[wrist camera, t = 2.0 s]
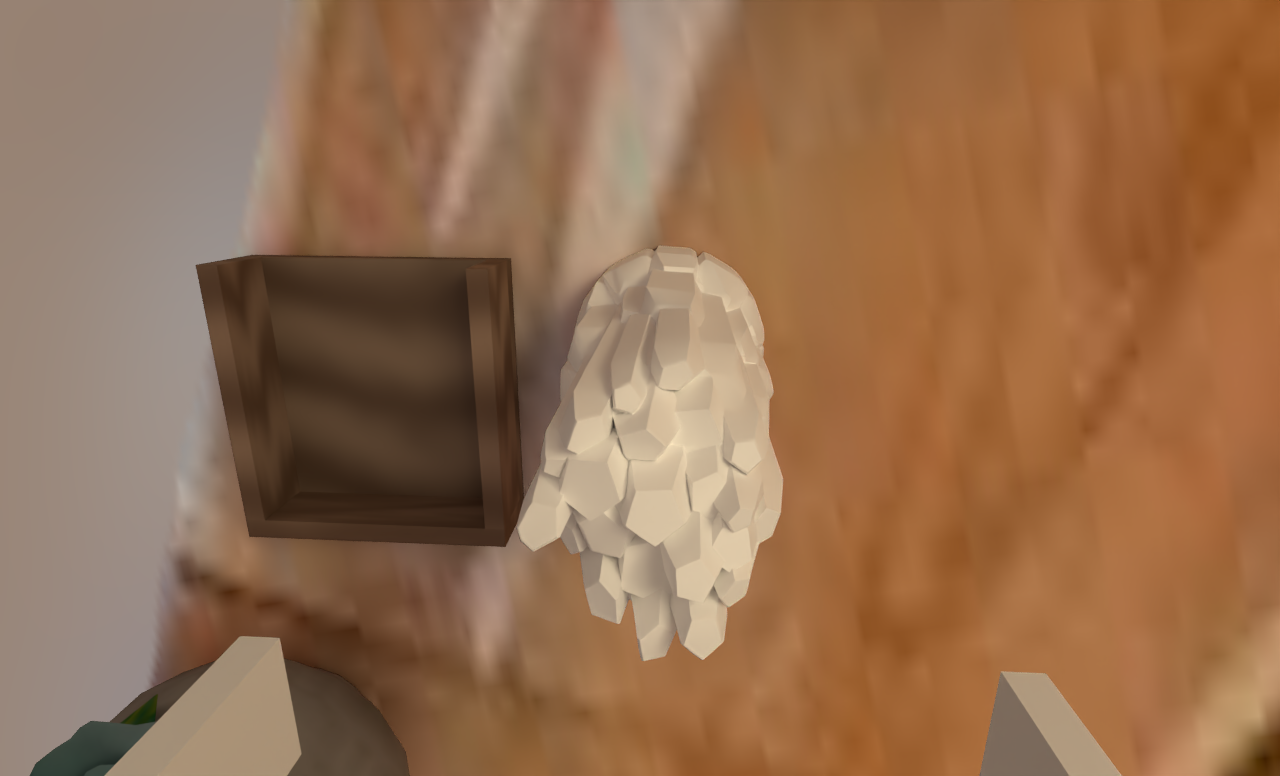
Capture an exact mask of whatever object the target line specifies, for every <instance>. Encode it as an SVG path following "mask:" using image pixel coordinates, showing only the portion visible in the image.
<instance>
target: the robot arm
mask: <svg viewBox="0 0 1280 776" xmlns="http://www.w3.org/2000/svg"><path fill="white" fill-rule="evenodd" d="M300 755H301V749H300V743H299V738H298V733H297V727H296V722H295V717H294V711H293V706H292V701H291V695H290V690H289V685H288V679H287V674H286V669H285V663H284V658H283V653H282V647H281V642H280V638H271V637H249V636H240V637H239V638H238V639H237V640H236V641H235V642H234V643H233V644H232V645H231V646H230V647H229V648H228V649H227V650H226V651H225V652H224V653H223V654H222V655H221V656H220V657H219V658H218V659H217V661H216V662H215V663H214V664H213V665H212V666H211V667H210V668H209V669H208V670H207V671H206V672H205V673H204V674H203V675H202V676H201V677H200V678H199V679H198V680H197V681H196V682H195V683H194V684H193V685H192V686H191V687H190V688H189V689H188V690H187V691H186V692H185V693H184V694H183V695H182V696H181V698H180V699H179V700H178V701H177V702H176V703H175V704H174V705H173V706H172V707H171V708H170V709H169V710H168V711H167V712H166V713H165V714H164V715H163V716H162V717H161V718H160V719H159V720H158V721H157V722H156V723H155V724H154V725H153V726H152V727H151V728H150V729H149V730H148V731H147V732H146V733H145V734H144V736H143V737H142V738H141V739H140V740H139V741H138V742H137V743H136V744H135V745H134V746H133V747H132V748H131V749H130V750H129V751H128V752H127V753H126V754H125V755H124V756H123V757H122V758H121V759H120V760H119V761H118V762H117V763H116V764H115V765H114V766H113V767H112V768H111V769H110V770H109V771H108V773H107V774H106V775H105V776H287V775H288V774H289V772H290V770H291V769H292V767H293V766H294V764H295V763H296V761H297V760H298V758H299V757H300ZM980 776H1122V775H1121V774H1120V773H1119V771H1118V770H1117V769H1116V767H1115V766H1114V765H1113V763H1112V762H1111V761H1110V759H1109V758H1108V756H1107V755H1106V754H1105V752H1104V751H1103V750H1102V748H1101V747H1100V746H1099V744H1098V743H1097V742H1096V740H1095V739H1094V738H1093V736H1092V735H1091V734H1090V732H1089V731H1088V730H1087V728H1086V727H1085V725H1084V724H1083V723H1082V721H1081V720H1080V719H1079V717H1078V716H1077V715H1076V713H1075V712H1074V711H1073V709H1072V708H1071V707H1070V705H1069V704H1068V703H1067V701H1066V700H1065V699H1064V697H1063V696H1062V694H1061V693H1060V692H1059V690H1058V689H1057V688H1056V686H1055V685H1054V684H1053V682H1052V681H1051V680H1050V678H1049V677H1048V676H1047V674H1044V673H1023V672H1001V674H1000V679H999V684H998V689H997V694H996V698H995V703H994V708H993V713H992V718H991V723H990V728H989V732H988V737H987V742H986V747H985V752H984V757H983V761H982V766H981V771H980Z"/></svg>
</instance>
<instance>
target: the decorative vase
mask: <svg viewBox="0 0 1280 776" xmlns="http://www.w3.org/2000/svg"><path fill="white" fill-rule="evenodd" d="M576 323H577V324H576V325H575V330H574V336H573V339H572V343H571V346H570V349H569V353H568V356H567V359H568V360H567V361H566V363H565V364H564V366H563V367H562V369H561V375H560V401H561V403H560V405H559V407H558V409H557V411H556V413H555V414H554V416H553V418H552V420H551V422H550V424H549V426H548V428H547V429H546V432H545V436H544V441H543V446H542V450H541V455H540V459H541V464H540V466H539V468H538V470H537V472H536V474H535V476H534V478H533V480H532V482H531V485H530V487H529V489H528V491H527V493H526V496H525V498H524V500H523V503H522V507H521V511H520V514H519V518H518V522H517V526H516V528H517V531H518V535H519V538H520V541H521V542H522V543H523V544H525V545H526V546H527V547H528V548H529V549H530V550H531V551H533V552H534V551H536V550H537V549H539V548H541V547H543V546H545V545H547V544H549V543H551V542H553V541H554V540H556V539H558V538H559V537H560V538H561V539H562V541H563V543H564V544H565V546H566V548H567V549H568V551H569V552H570V554H575V553H579V552H580V558H581V565H582V573H583V581H584V587H585V591H586V595H587V600H588V603H589V607H590V610H591V613H592V615H595V616H597V617H600V618H603V619H606V620H608V621H611V622H614V623H617V624H620V622H621V619H622V616H623V613H624V611H625V608H626V605H627V603H628V600H629V599H630V600H631V601H632V604H633V610H634V617H635V624H636V632H637V640H638V647H639V652H640V657H641V660H642V661H646V660H651V659H656V658H660V657H664V656H665V655H666V653H667V651H668V649H669V646H670V644H671V642H672V640H673V637H674V635H675V633H676V630H677V631H678V635H679V639H680V643H681V644H682V645H683V646H684V647H685V648H687V649H688V650H689V651H690V652H691V653H693V654H694V655H695V656H697V657H698V658H700V659H701V660H704V659H705V658H706V657H707V656H708V655H709V654H711V653H712V652H713V651H714V650H715V649H716V648H717V647H718V646H719V645H720V644H722V642H723V641H724V637H725V629H726V621H727V607H730V606H732V605H733V604H734V603H736V602H737V601H739V600H740V599H741V598H743V597H744V596H745V595H746V592H747V589H748V585H749V581H750V576H751V572H752V568H753V564H754V561H755V557H756V553H757V550H758V546H759V543H761V542H763V541H765V540H766V539H768V538H770V537H771V536H772V535H773V532H774V530H775V527H776V524H777V522H778V519H779V516H780V514H781V502H782V489H783V477H782V474H781V471H780V468H779V465H778V462H777V459H776V456H775V453H774V450H773V447H772V444H771V441H770V438H769V400H770V398H771V397H772V395H773V394H774V391H773V385H772V381H771V377H770V374H769V371H768V368H767V366H766V364H765V361H764V359H763V353H764V347H763V345H762V344H763V342H764V327H763V324H762V321H761V317H760V314H759V311H758V308H757V305H756V302H755V299H754V297H753V296H752V294H751V292H750V291H749V289H748V288H747V286H746V284H745V283H744V281H743V279H742V278H741V277H740V276H739V274H738V273H737V272H736V271H735V270H734V269H733V268H731V267H730V266H728V265H727V264H725V263H724V262H722V261H720V260H719V259H717V258H715V257H714V256H712V255H710V254H709V253H706V252H703V253H702V254H701V255H700V256H698V257H697V254H696V251H694V250H693V249H691V248H686V247H673V246H660V245H659V246H658V247H657V249H656V250H655V251H654V250H652V249H644V250H642V251H639V252H637V253H635V254H633V255H631V256H628V257H626V258H624V259H622V260H621V261H619V262H617V263H615V264H614V265H612V266H610V267H609V269H608V270H607V271H606V272H604V274H603V275H602V276H601V277H600V278H599V279H598V281H597V282H596V283H595V285H594V286H593V288H592V289H591V290H590V292H589V293H588V294H587V296H586V297H585V299H584V300H583V303H582V306H581V309H580V312H579V315H578V318H577V321H576Z"/></svg>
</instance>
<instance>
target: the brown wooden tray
mask: <svg viewBox="0 0 1280 776" xmlns="http://www.w3.org/2000/svg"><path fill="white" fill-rule="evenodd" d="M196 269H197V274H198V279H199V284H200V288H201V294H202V299H203V304H204V309H205V314H206V319H207V324H208V329H209V334H210V339H211V344H212V349H213V355H214V360H215V365H216V370H217V375H218V380H219V385H220V390H221V395H222V400H223V405H224V410H225V415H226V420H227V425H228V430H229V435H230V440H231V445H232V450H233V456H234V461H235V466H236V471H237V476H238V481H239V486H240V491H241V496H242V501H243V506H244V511H245V516H246V521H247V526H248V531H249V536H250V537H272V538H297V539H322V540H347V541H373V542H398V543H423V544H449V545H474V546H499V547H506V544H507V542H508V540H509V538H510V536H511V534H512V532H513V530H514V528H515V526H516V524H517V522H518V518H519V514H520V511H521V507H522V503H523V500H524V496H523V477H522V458H521V440H520V421H519V402H518V384H517V365H516V346H515V327H514V309H513V290H512V271H511V258H436V257H361V256H286V255H250V256H244V257H238V258H233V259H227V260H221V261H216V262H211V263H205V264H199V265H196Z"/></svg>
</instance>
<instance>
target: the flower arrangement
mask: <svg viewBox="0 0 1280 776" xmlns="http://www.w3.org/2000/svg"><path fill="white" fill-rule="evenodd" d="M215 662H216V661H214V662H211V663H208V664H206V665H203V666H200V667H197V668H194V669H191V670H189V671H186V672H183V673H181V674H179V675H177V676H175V677H173V678H171V679H169V680H167V681H165V682H163V683H161V684H159V685H157V686H155V687H153V688H151V689H149V690H147V691H145V692H143V693H141V694H140V695H139V696H138V697H137V698H136V699H135V700H133V701H132V702H131V703H130V704H129V705H128V706H127V707H126V708H125V709H124V710H122V711H121V712H120V713H119V714H118V715H117V716H116V717H115V718H114V719H112V720H111V721H110V722H98V721H90V722H89V723H87V724H85V725H84V726H82V727H80V728H79V729H78V731H77V732H76V733H75V734H74V735H73V736H72V738H71V739H69V740H68V741H66V742H65V743H63V744H61V745H60V746H58V747H57V748H55V749H54V750H52V751H51V752H50V753H49V754H47V755H46V756H45V757H43V758H42V759H41V760H40V761H38V762H37V763H36V764H35V766H34V768H33V770H32V772H31V774H30V776H105V775H106V774H107V773H108V771H109V770H110V769H111V768H112V767H113V766H114V765H115V764H116V763H117V762H118V761H119V760H120V759H121V758H122V757H123V756H124V755H125V754H126V753H127V752H128V751H129V750H130V749H131V748H132V747H133V746H134V745H135V744H136V743H137V742H138V741H139V740H140V739H141V738H142V737H143V736H144V734H145V733H146V732H147V731H148V730H149V729H150V728H151V727H152V726H153V725H154V724H155V723H156V722H157V721H158V720H159V719H160V718H161V717H162V716H163V715H164V714H165V713H166V712H167V711H168V710H169V709H170V708H171V707H172V706H173V705H174V704H175V703H176V702H177V701H178V700H179V699H180V698H181V696H182V695H183V694H184V693H185V692H186V691H187V690H188V689H189V688H190V687H191V686H192V685H193V684H194V683H195V682H196V681H197V680H198V679H199V678H200V677H201V676H202V675H203V674H204V673H205V672H206V671H207V670H208V669H209V668H210V667H211V666H212V665H213V664H214V663H215ZM284 663H285V669H286V674H287V679H288V685H289V690H290V695H291V701H292V706H293V711H294V717H295V722H296V727H297V733H298V738H299V743H300V749H301V755H300V757H299V758H298V760H297V761H296V763H295V764H294V766H293V767H292V769H291V770H290V772H289V774H288V775H287V776H410V775H409V769H408V762H407V756H406V751H405V750H404V748H403V747H402V745H401V743H400V742H399V740H398V739H397V737H396V736H395V734H394V733H393V731H392V730H391V728H390V727H389V725H388V723H387V722H386V720H385V719H384V717H383V716H382V714H381V713H380V711H379V710H378V709H377V708H376V707H375V706H374V705H373V704H372V703H371V702H370V701H369V700H367V699H366V698H365V697H364V696H362V695H361V694H360V692H359V691H358V689H357V688H356V687H354V686H353V685H352V684H350V683H349V682H348V681H346V680H345V679H344V678H342V677H341V676H339V675H336V674H334V673H331V672H328V671H325V670H323V669H315V668H312V667H309V666H307V665H304V664H301V663H299V662H295V661H291V660H288V659H284Z"/></svg>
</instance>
